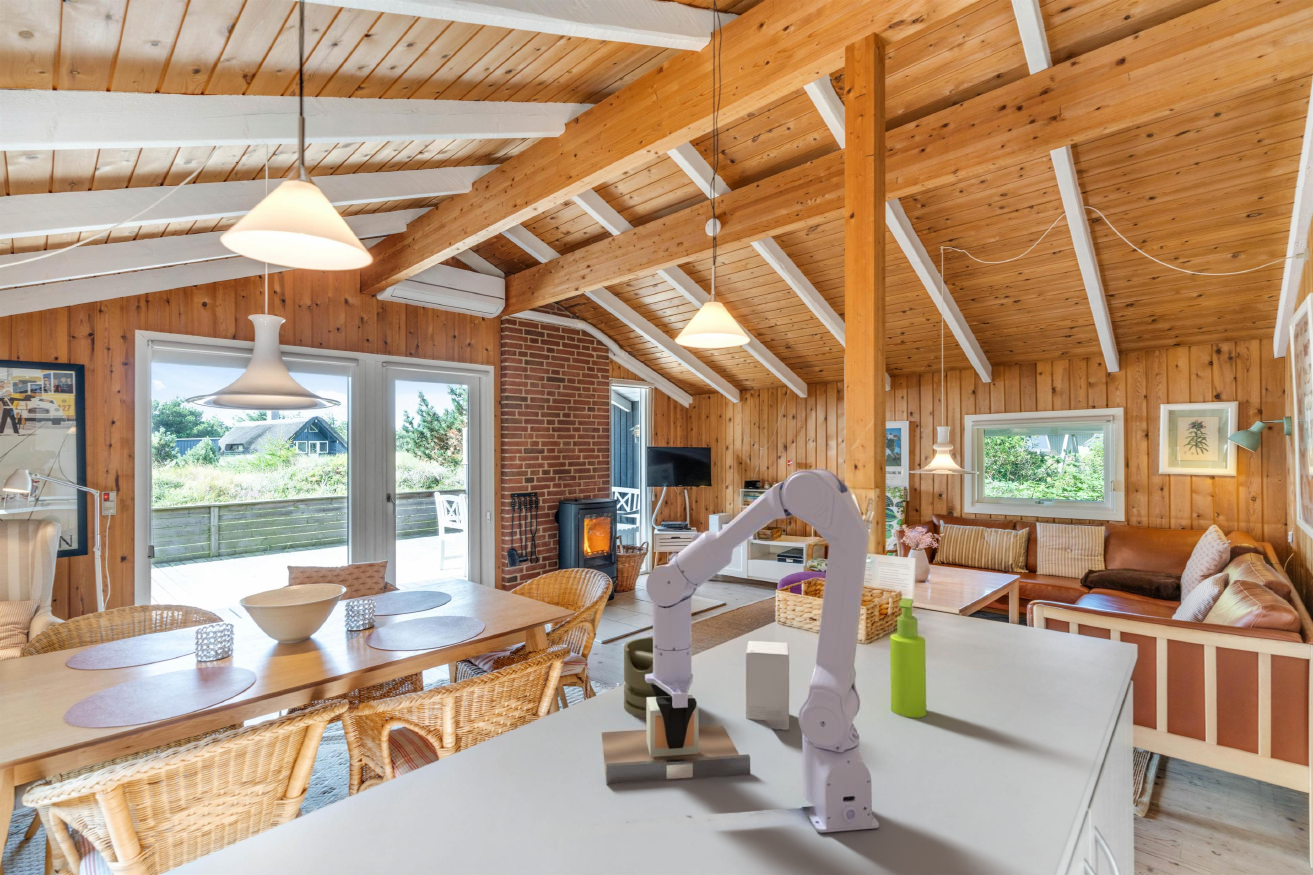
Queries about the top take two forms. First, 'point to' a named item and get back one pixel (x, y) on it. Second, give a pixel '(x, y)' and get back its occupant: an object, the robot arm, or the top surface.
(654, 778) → the rail
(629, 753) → the shelf board
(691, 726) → the carton
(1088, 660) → the top surface
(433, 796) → the top surface
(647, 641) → the piston
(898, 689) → the soap dispenser
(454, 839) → the top surface
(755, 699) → the supplement box
